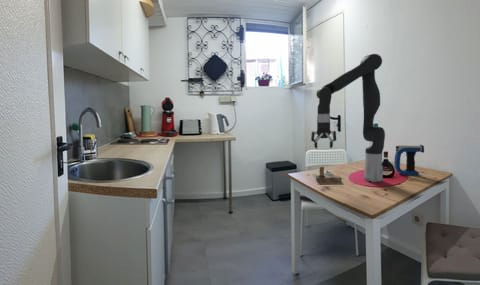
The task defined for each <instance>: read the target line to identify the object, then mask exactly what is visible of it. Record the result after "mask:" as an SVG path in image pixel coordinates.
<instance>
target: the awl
mask: <svg viewBox="0 0 480 285" xmlns="http://www.w3.org/2000/svg"><path fill="white" fill-rule="evenodd" d="M324 171H325V166H319V174H320V175H319V177H324Z"/></svg>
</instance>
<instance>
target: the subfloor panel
mask: <svg viewBox="0 0 480 285" xmlns="http://www.w3.org/2000/svg"><path fill="white" fill-rule="evenodd" d="M316 175H320V173H311V176H312V177H313V178H314V180H315V181H316Z"/></svg>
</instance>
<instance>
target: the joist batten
mask: <svg viewBox="0 0 480 285" xmlns="http://www.w3.org/2000/svg"><path fill="white" fill-rule="evenodd" d="M342 180H343V178H342V176H341V175H337V174H336V175H334V174H333V175H324V177H319V175H316V180H315V182H317V183H320V184H321V183H322V184H324V183H327V184H328V183H331V184H332V183H335V184H338V183H339V184H340V183H342Z"/></svg>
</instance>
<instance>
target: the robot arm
mask: <svg viewBox="0 0 480 285" xmlns="http://www.w3.org/2000/svg"><path fill="white" fill-rule="evenodd" d="M382 63H383V58H382V56H381V55H380V54H378V53H371V54H367V55H365V56H363V57H362V58H361V60H360V64H359V65H357V66H355V67H354V68H352V69H350V70H348V71H346V72H344V73H343V74H340V75H339V76H337V77H336V78H334V79H333V80H332V81H330V82H329V83H327V84H325V85H323V86H321V87H320V88H318V90H317V91H316V93H315V94H316V97H317V99H318V105H317V115H316V117H317V118H316V131H314V130H313V131H311V135H310V136H311V138H310V140H311V142H312V143H314V144H313V145H314V148H315V149H318V141H320V139H328V140H329V149H332V148H333V147H334V146H333V145H334V142H336V141H337V132H336V130H331V101H332V95H333V94H334V93H336V92H339V91H341V90H343V89H344V88H345V87H347V86H349V85H351V84H352V83H353V82H354V81H356V80H358V79H359V78H362V79H361V82H362V103H363V104H362V106H363V123H362V124H363V125H362V128H363V129H362V136H363V139H364V140H365V141H366V142H371V143H372V144H371V145H370V146H369V147H366V148H365V154H364V175H363V176H364V178H363V180H364V179H365V180H364V181H366V182H369V181H371V183H380V182H383V174H384V165H383V150H384V147H385V140H386V132H385V129H384V128H383V127H381V126H374V120H375V116H376V114H377V113H378V111H379V109H380V106H381V93H380V92H381V91H380V89H379V87H378V86H379V85H378V84H377V81H376V73H375V72H376V70H378V69H379V68H380V67H381V66H382ZM315 135H317V136H316V137H315ZM330 135H332V137H331V136H330Z"/></svg>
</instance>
